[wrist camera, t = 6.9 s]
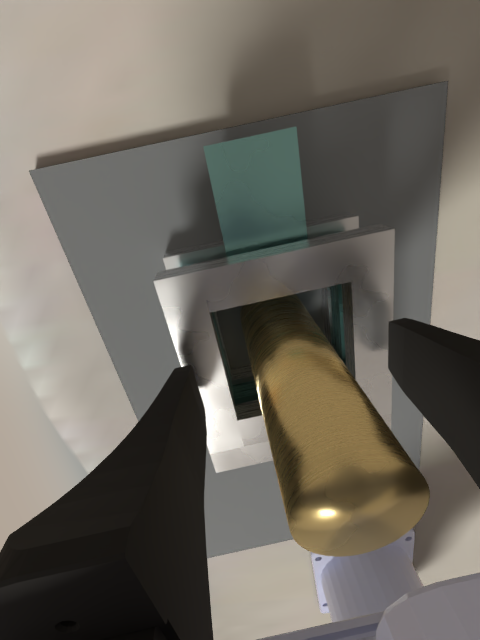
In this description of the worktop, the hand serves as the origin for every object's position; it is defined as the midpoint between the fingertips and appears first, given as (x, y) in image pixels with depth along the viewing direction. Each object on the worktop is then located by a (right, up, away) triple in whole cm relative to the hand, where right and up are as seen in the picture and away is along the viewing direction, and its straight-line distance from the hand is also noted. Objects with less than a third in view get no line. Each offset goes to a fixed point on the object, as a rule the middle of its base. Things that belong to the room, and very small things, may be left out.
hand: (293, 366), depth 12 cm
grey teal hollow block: (-1, +3, +3) cm, 5 cm away
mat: (0, -2, +7) cm, 7 cm away
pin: (0, +2, +4) cm, 4 cm away
